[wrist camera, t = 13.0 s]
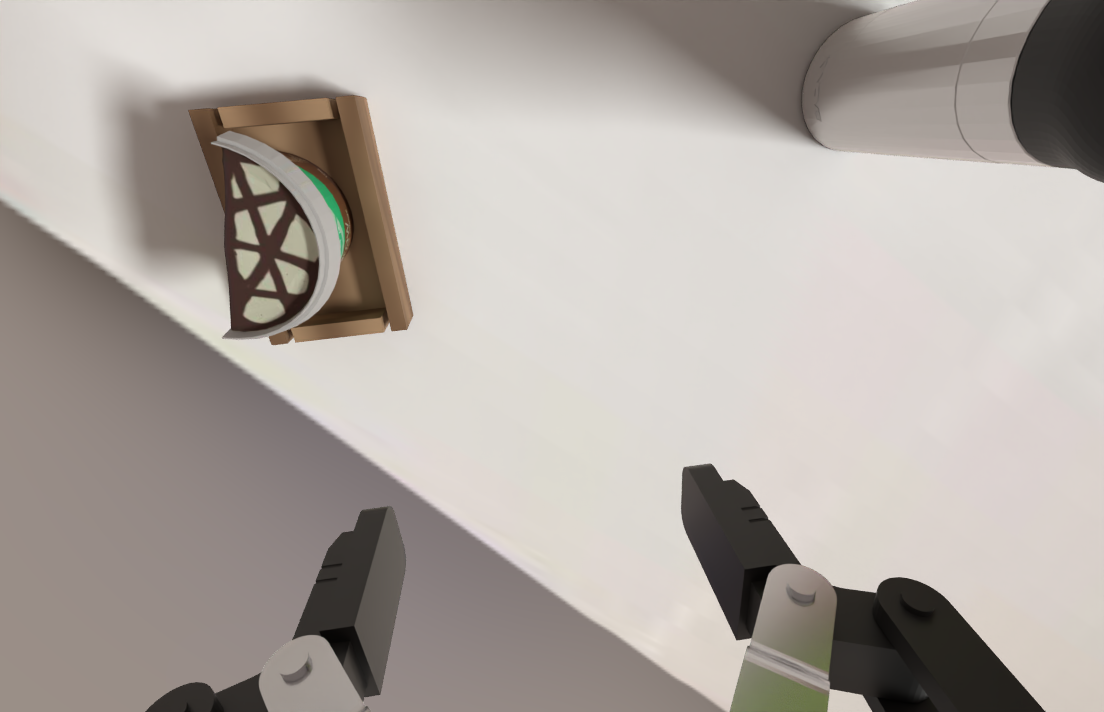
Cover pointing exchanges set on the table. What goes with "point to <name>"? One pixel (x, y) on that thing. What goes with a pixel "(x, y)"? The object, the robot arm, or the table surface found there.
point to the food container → (279, 236)
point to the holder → (353, 163)
